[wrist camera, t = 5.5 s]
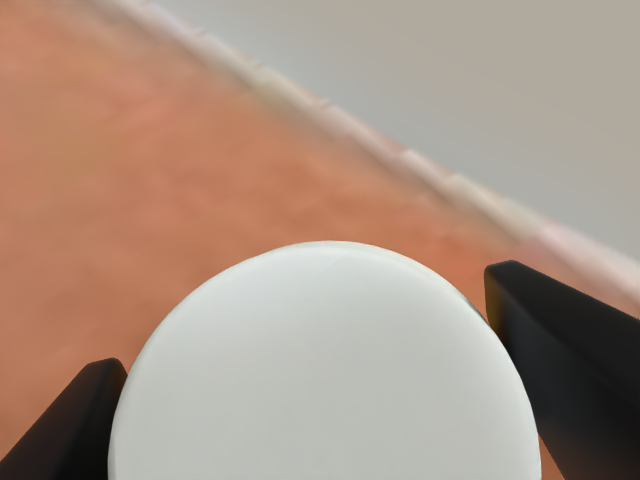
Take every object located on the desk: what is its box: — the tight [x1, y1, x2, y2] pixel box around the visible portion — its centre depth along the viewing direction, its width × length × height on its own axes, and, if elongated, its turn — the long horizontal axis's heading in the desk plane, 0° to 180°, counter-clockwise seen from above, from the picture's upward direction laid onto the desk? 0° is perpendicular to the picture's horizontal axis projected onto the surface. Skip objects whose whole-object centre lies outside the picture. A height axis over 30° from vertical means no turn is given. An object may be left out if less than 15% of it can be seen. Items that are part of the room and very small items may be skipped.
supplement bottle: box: [108, 241, 541, 480], centre depth 10 cm, size 5×5×10 cm
